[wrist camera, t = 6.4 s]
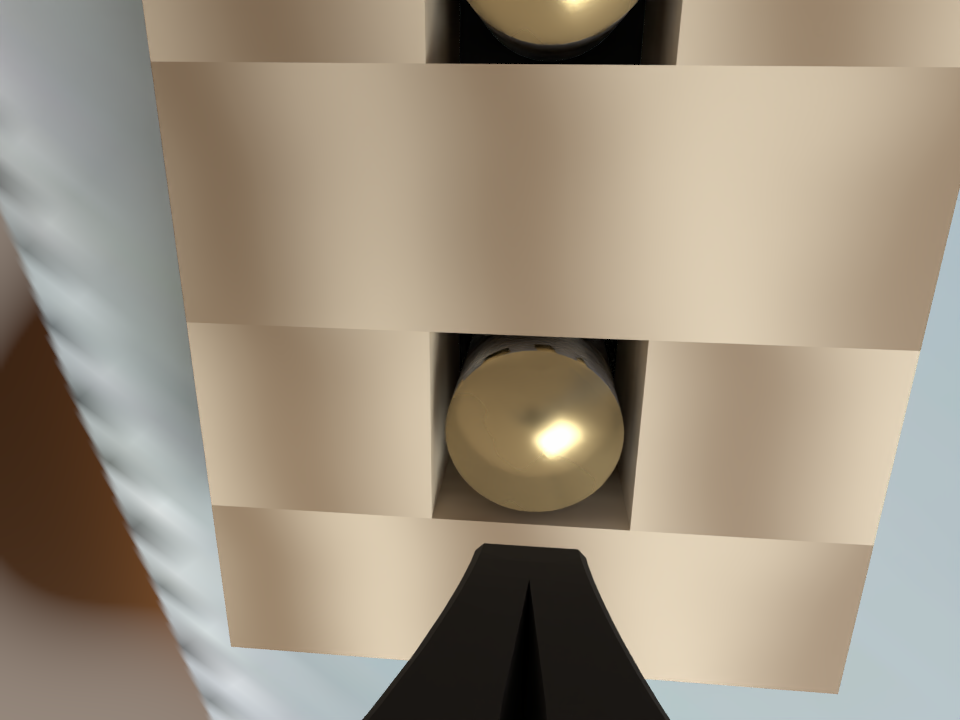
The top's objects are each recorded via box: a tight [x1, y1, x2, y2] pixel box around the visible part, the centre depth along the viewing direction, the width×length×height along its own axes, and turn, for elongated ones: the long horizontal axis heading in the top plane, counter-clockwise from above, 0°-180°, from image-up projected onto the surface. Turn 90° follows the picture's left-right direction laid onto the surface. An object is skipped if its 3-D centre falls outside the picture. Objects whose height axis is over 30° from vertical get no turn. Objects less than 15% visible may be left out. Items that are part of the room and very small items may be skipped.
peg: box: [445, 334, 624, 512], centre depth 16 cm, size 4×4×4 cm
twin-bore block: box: [142, 0, 960, 694], centre depth 15 cm, size 14×21×5 cm, turn 179°
